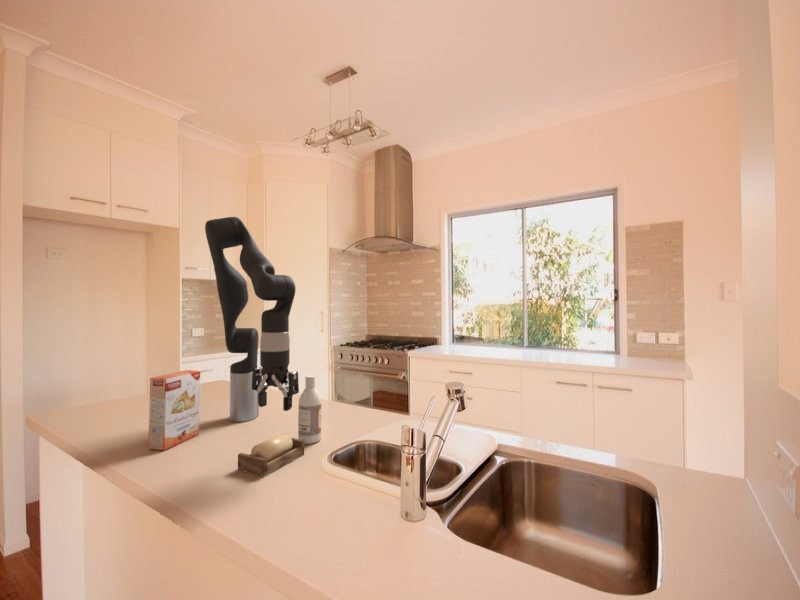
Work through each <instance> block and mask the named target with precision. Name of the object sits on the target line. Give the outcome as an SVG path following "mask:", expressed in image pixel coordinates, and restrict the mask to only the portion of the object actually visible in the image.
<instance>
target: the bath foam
mask: <svg viewBox="0 0 800 600" xmlns="http://www.w3.org/2000/svg"><path fill="white" fill-rule="evenodd" d="M304 387H305V388H304V390H303V391H302V392H301V394H300V397H299V399H298V412H297V413H298V415H297V416H298V421H297V422H298V423H297V424H298V425H297V426H298V427H297V428H298V431H297V434H298V436H297V437H298V438H297V439H299V440H304V445H311V444H312V445H313V444H315V443H318V442H320V441H321V439H322V398H321V397H322V396H321V395H320V393H319V391H318V390H317V388H316V376H315V375H306V376H305V386H304Z"/></svg>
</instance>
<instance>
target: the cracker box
mask: <svg viewBox="0 0 800 600" xmlns="http://www.w3.org/2000/svg"><path fill="white" fill-rule="evenodd" d="M149 380H150V381H149V413H148V414H149V415H148V416H149V417H148V449H149V450H154V451H163V452H165V451H166V450H168V449H171V448H173V447H174V446H177V445H179V444H181V442H182V443H184V442H185V441H188V440H190V439H192V438H195V437H197V436H199V435H198V434H199V433H200V403H201V402H200V400H201V399H200V397H201V396H200V395H201V370H191V369H190V370H189V369H188V370H187V369H185V370H180V371H177V372H172V373H167V374H164V375H158V376H155V377H150V379H149ZM196 435H197V436H196ZM194 436H195V437H194Z"/></svg>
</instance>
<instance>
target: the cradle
mask: <svg viewBox="0 0 800 600" xmlns="http://www.w3.org/2000/svg"><path fill="white" fill-rule="evenodd" d="M291 438H292V442H293V446H292V448H291V450H290V451H288V452H287V453H285V454H283V455H281V456H279V457H277V458H276V459H274V460H272V461H270V462H268V463H267V459H264V458H260V457H256V456H252V455H251V453H250V454H247V453H245V452H244V453H243V452H240V453H238V454H237V471H240V470H242V471H241V472H244V471H246V472H245V473H248V472H249V474H251V473H253V474H252V475H255V474H257V475H256V476H259V475H260V476H259V477H262V476H265V477H267V476H268V474H269V475H270V473H271V474H272V473H273V472H276V471H278V470H279V469H281V468H283V467H285V466H286V465H288V464H290V463H292V462H293V461H295V460H297V459H299V458H300V457H302V456H304V455H305V444H304V440H299V439H298V438H294V437H291ZM277 469H278V470H277ZM266 475H267V476H266Z"/></svg>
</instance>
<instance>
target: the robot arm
mask: <svg viewBox="0 0 800 600" xmlns="http://www.w3.org/2000/svg"><path fill="white" fill-rule="evenodd" d="M244 223H245V222H243V220H241V219H240V218H239V217H237V216H228V217H223V218H214V219H210V220H207V221H206V222H205V225H204V230H205V231H204V232H205V236H206V241H207V245H208V249H209V252H210V255H211V261H212V263H213V264H212V265H213V269H214V273H215V280H216V288H217V289H216V290H217V293H218V300H219V304H220V308H221V313H222V320H223V328H224V339H225V340H224V341H225V345H226V350H227V351H228V352H229V353H230V354H247V355H246V357H244V358H243V359H242V360H239V361H236V362H233V363H232V364H231V365H230V371H229V372H230V373H229V420H230V421H231V422H237V423H238V422H248V421H251V420H252V421H253V420H255V419H256V418H257V417H258V416H260V415H259V414H260V408H264V407H266V406H267V405H268V404H267V401H268V397H267V396H268V395H267V394H268V392H267V390H268V388H269V387H274V388H278V390H279V391H281V393H282V395H283V397H282V398H283V407H282V410H283V412H284V411H285V412H288V411H290V410H291V409H292V408H293V396H294V395H297V394H299V393H300V391H299V390H300V389H299V372H298V371H296V370H295V371H289V365H290V354H291V353H290V352H291V351H290V343H291V342H290V334H289V333H290V332H289V331H290V330H289V329H290V325H289V323H290V320H289V318H290V313H291V310H292V307H293V303H294V298H295V295H296V283H295V281H294V279H293V278H292V277H291V276H289V275H286V274H276V270H275V267H274V265H273V263H272V262H271V261H270V260H269V259H268V258H267V257H266V255H264V254H263V252H262V251H261V250H260V249H259V247H258V245H257V243H256V241H255V240H254V238H253V236H252V235H251V232H250V231H249V230H248V228H247V226H246V224H244ZM239 246H242V248H241V249H240V250H241V251H240V255H239V263H240V267H241V268H242V270H243V272H244V273H246V275H247V276H248V277H249V278H250V281H251V284H252V287H253V291H254V294H255V296H256V297H257V298H258V299H260V300H262V301H267V302H268V301H270V302H271V301H276V302H275V305H274V307H273V308H270V309H267V310H264V311H263V312H262V314H261V321H260V323H261V331H260V332H261V334H260V342H259V331H258V329H257V328H253V327H237V325H236V322H237V320H238V318H239V316H240V315H241V314H242V312H243V310H244V309H245V308H246V306H247V304H248V302H249V291H248V283H247V281H246V279H245V278H244V276H243V275H242V274H241V273H240V272H239V271H238V270H237V269H236V268H234V267H233V265H232V264H231V263H230V262H229V261H228V260H227V258H226V256H225V253H224V249H229V248H235V247H239ZM259 344H260V345H259ZM259 346H260V347H259ZM259 349H260V350H259ZM258 350H259V351H258ZM258 352H259V353H260V354H259V353H258ZM258 355H260V356H259V358H260V359H259V365H260V366H259V367H258Z"/></svg>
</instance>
